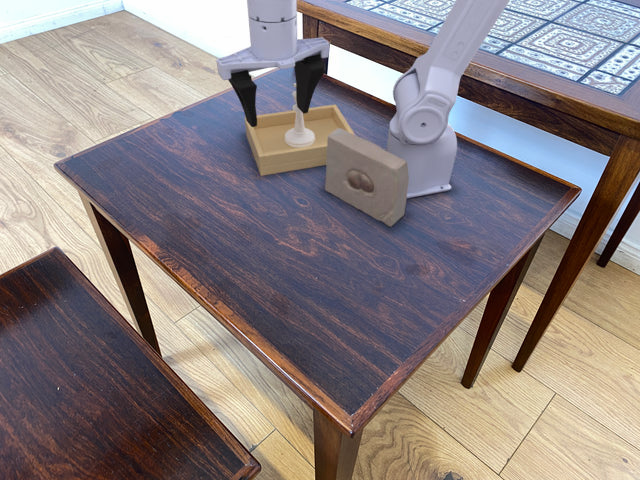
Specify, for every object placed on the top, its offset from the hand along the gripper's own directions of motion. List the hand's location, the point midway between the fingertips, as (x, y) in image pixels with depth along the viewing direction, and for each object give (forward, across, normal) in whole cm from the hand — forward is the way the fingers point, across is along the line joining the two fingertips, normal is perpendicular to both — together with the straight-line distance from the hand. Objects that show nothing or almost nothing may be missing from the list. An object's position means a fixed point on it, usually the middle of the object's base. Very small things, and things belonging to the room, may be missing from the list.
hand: (277, 116), depth 68 cm
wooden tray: (+10, +6, +6) cm, 14 cm away
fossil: (+11, +8, -11) cm, 17 cm away
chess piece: (+9, +6, +6) cm, 12 cm away
